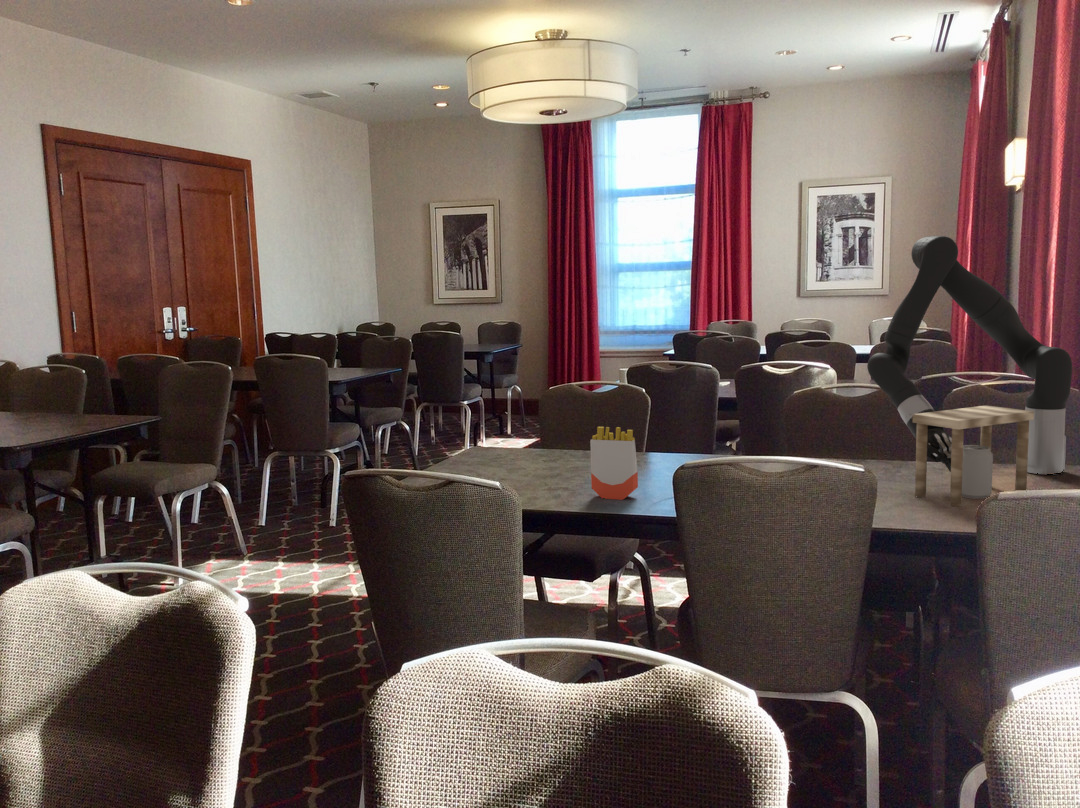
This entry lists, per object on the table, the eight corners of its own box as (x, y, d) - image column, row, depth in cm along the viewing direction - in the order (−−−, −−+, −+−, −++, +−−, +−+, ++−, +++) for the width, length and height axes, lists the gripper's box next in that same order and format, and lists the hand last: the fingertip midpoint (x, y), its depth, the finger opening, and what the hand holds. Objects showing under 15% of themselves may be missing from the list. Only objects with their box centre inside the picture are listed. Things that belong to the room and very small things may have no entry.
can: (997, 499, 207) (999, 448, 205) (965, 499, 207) (967, 449, 205) (982, 491, 214) (984, 443, 213) (951, 492, 214) (952, 444, 213)
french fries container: (597, 493, 225) (595, 424, 223) (638, 496, 221) (637, 425, 219) (591, 497, 221) (589, 427, 219) (633, 500, 217) (632, 428, 214)
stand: (983, 483, 222) (985, 405, 220) (1030, 493, 211) (1034, 411, 208) (910, 496, 212) (912, 414, 210) (956, 507, 200) (959, 420, 198)
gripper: (909, 410, 218) (948, 467, 208) (947, 405, 223) (987, 461, 214) (891, 428, 223) (929, 484, 214) (929, 423, 229) (968, 478, 219)
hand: (958, 473), depth 214 cm, fingers closed
